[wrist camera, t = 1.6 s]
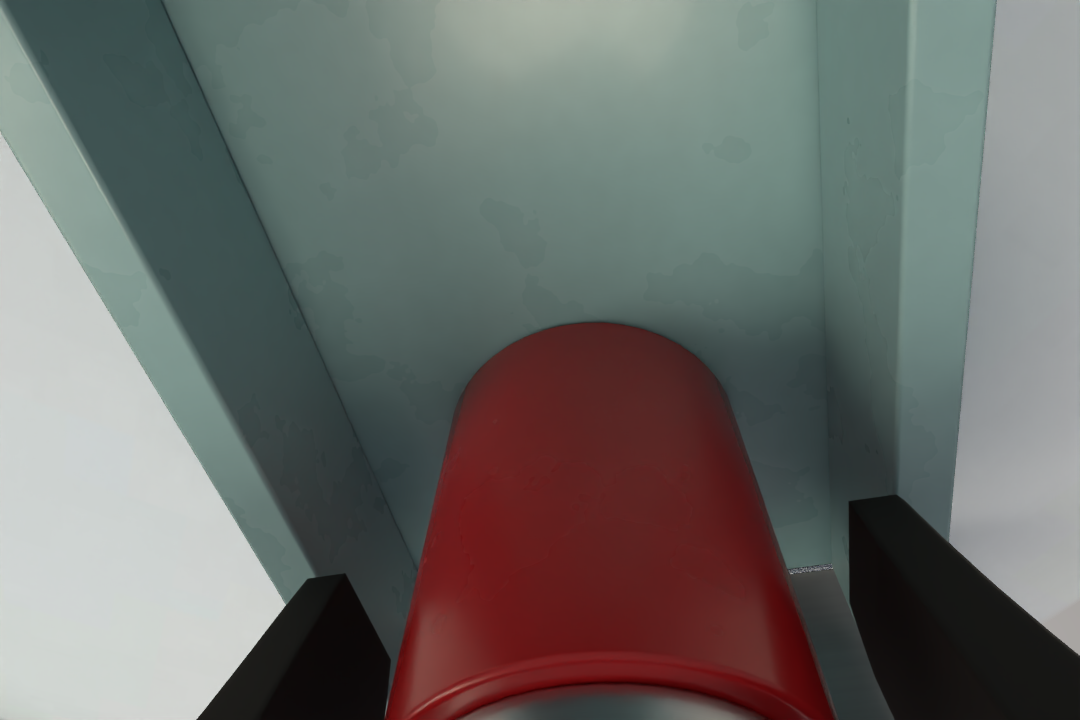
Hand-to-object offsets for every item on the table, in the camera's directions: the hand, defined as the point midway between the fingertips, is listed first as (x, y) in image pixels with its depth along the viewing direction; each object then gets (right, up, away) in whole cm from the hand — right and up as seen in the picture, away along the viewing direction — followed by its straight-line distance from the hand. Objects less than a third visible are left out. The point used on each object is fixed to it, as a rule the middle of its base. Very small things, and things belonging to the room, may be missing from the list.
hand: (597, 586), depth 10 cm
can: (0, +2, +3) cm, 3 cm away
